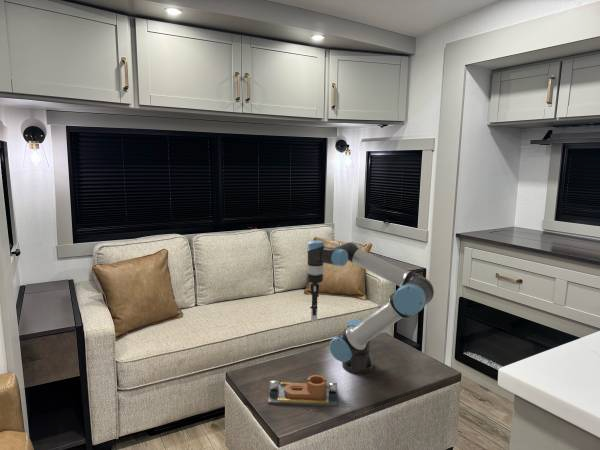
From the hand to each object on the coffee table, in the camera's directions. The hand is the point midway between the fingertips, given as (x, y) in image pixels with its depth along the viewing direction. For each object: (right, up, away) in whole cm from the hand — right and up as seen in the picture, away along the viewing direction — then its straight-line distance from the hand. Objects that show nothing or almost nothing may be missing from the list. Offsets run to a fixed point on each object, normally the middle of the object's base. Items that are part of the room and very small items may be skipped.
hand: (314, 315), depth 197 cm
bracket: (-5, -30, -21) cm, 37 cm away
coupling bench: (-6, -30, -20) cm, 37 cm away
